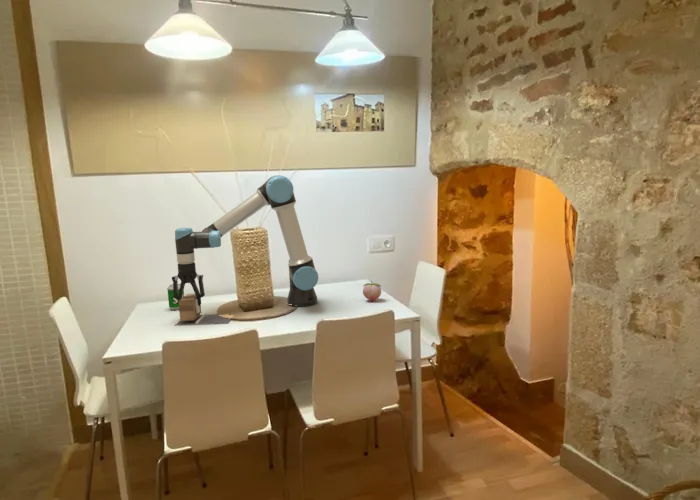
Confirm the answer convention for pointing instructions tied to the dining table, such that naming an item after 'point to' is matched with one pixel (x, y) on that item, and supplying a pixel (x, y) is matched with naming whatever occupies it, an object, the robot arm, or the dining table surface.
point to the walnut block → (188, 308)
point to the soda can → (173, 301)
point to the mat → (205, 320)
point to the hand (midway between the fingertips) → (190, 312)
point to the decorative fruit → (372, 291)
